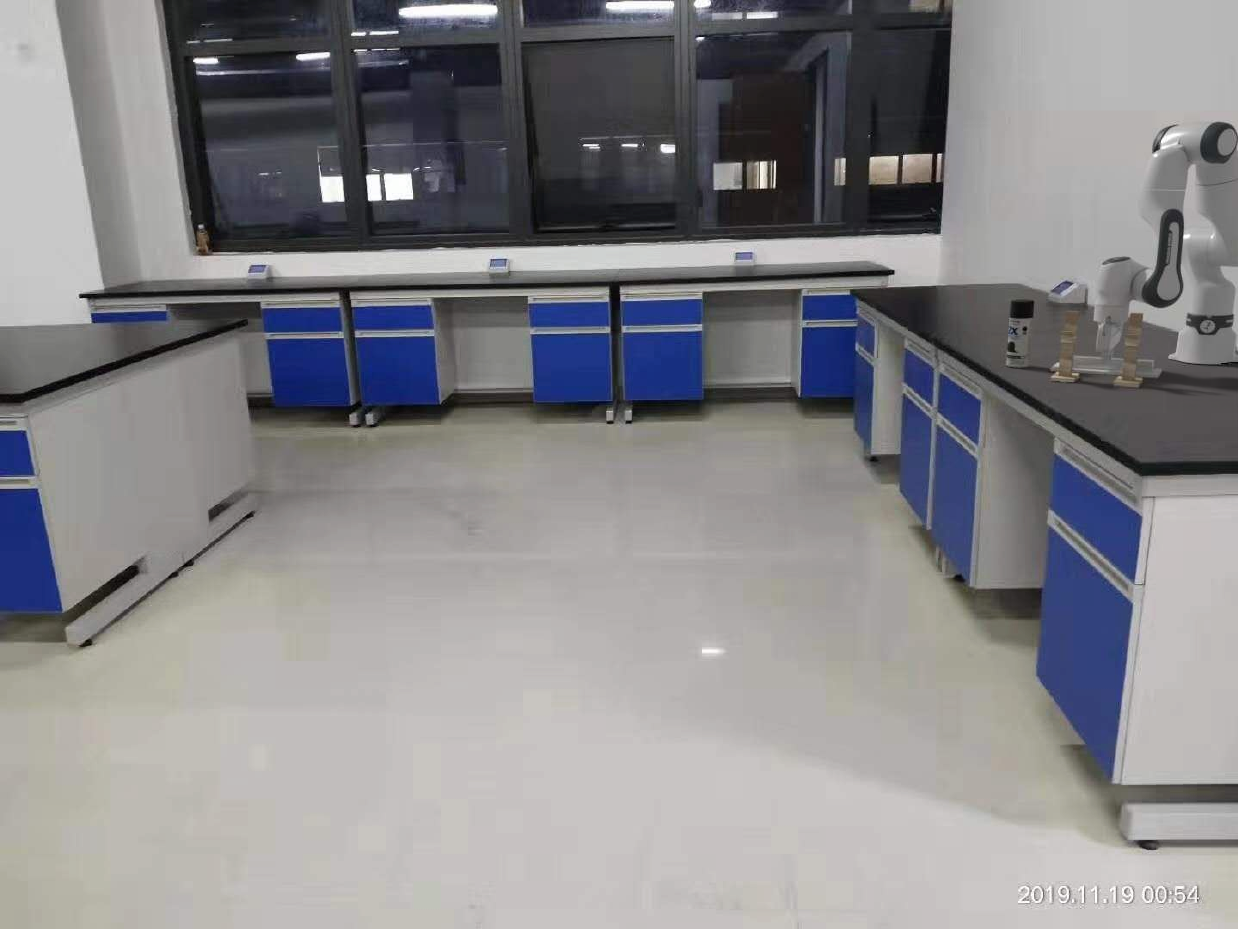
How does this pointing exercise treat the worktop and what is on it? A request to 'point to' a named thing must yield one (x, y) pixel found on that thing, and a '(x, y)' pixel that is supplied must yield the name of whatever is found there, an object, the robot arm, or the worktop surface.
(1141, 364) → the steel bar
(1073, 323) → the hook post
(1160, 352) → the worktop surface
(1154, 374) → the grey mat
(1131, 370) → the hook post
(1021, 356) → the spray can
